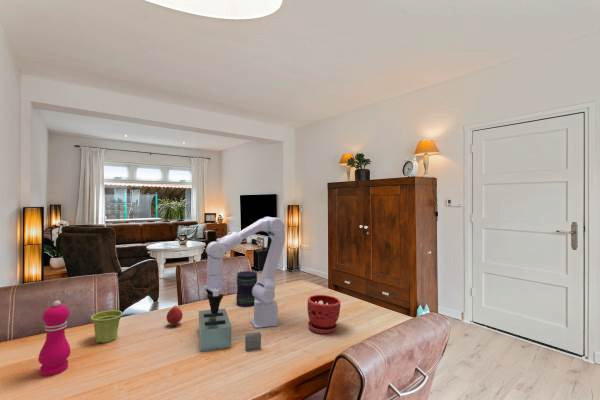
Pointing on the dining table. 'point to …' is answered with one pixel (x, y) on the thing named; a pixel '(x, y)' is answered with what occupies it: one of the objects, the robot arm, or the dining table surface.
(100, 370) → the dining table surface
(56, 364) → the pepper mill
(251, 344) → the grey tall block
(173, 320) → the onion
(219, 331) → the toaster
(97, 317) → the plant pot
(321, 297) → the plant pot
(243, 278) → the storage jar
